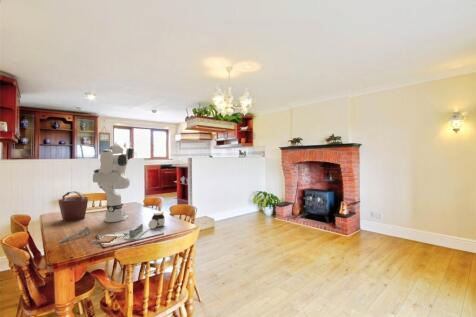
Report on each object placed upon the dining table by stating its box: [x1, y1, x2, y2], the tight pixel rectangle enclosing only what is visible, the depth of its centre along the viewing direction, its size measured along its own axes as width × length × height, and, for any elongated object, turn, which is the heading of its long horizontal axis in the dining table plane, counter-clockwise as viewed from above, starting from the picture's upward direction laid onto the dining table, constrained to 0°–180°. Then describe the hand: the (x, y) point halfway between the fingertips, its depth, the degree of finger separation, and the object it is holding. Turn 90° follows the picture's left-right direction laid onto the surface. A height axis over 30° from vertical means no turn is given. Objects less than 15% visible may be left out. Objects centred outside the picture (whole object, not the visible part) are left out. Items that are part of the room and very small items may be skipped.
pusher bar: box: [128, 223, 144, 238], centre depth 174 cm, size 16×3×5 cm, turn 0°
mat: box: [89, 232, 129, 246], centre depth 166 cm, size 22×16×1 cm
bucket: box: [58, 191, 89, 222], centre depth 218 cm, size 24×22×25 cm
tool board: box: [123, 228, 149, 241], centre depth 174 cm, size 20×9×1 cm, turn 0°
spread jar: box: [148, 211, 166, 230], centre depth 194 cm, size 12×11×12 cm
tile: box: [97, 235, 117, 243], centre depth 162 cm, size 2×8×10 cm
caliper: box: [57, 226, 91, 244], centre depth 167 cm, size 20×1×6 cm, turn 153°
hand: (107, 188), depth 183 cm, fingers open, 8 cm apart
